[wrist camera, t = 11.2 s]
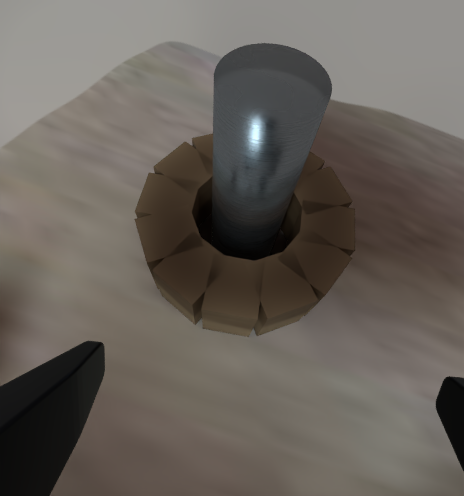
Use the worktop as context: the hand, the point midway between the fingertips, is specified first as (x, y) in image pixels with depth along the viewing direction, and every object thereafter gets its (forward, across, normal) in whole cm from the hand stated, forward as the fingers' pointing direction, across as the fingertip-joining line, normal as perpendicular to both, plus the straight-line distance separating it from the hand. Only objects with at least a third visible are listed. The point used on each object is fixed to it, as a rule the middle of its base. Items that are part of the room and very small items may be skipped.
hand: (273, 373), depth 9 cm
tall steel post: (+14, +1, +1) cm, 14 cm away
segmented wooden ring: (+14, +1, +1) cm, 14 cm away
